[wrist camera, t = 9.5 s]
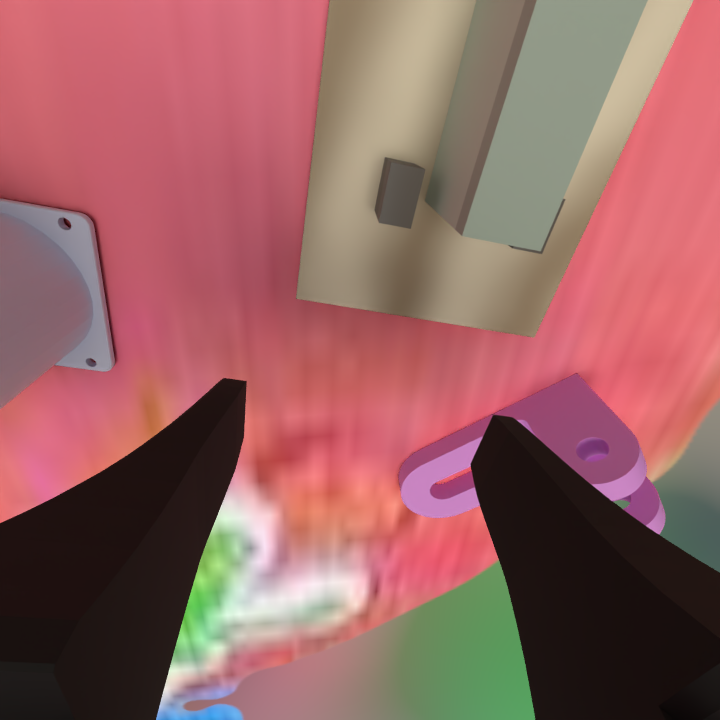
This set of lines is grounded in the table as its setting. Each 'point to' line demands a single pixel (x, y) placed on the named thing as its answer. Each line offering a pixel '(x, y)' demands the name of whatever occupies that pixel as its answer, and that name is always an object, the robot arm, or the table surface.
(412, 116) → the beige board with pegs
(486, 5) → the door
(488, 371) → the table surface
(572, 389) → the bracket
